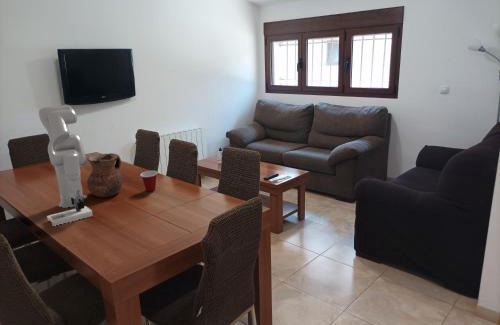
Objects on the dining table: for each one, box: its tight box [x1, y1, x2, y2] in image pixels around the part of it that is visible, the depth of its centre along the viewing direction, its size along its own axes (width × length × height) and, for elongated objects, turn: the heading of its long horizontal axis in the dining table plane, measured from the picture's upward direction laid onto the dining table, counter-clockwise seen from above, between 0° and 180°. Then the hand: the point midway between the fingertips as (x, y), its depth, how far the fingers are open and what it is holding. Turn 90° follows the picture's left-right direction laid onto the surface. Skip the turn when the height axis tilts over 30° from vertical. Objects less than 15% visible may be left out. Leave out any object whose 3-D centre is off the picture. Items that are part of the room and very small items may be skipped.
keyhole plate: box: [46, 205, 94, 227], centre depth 200 cm, size 20×10×3 cm, turn 132°
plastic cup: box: [140, 170, 158, 193], centre depth 241 cm, size 11×11×12 cm
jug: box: [86, 152, 124, 198], centre depth 235 cm, size 22×21×25 cm
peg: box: [74, 196, 81, 212], centre depth 202 cm, size 4×4×12 cm
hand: (78, 206), depth 202 cm, fingers open, 9 cm apart
